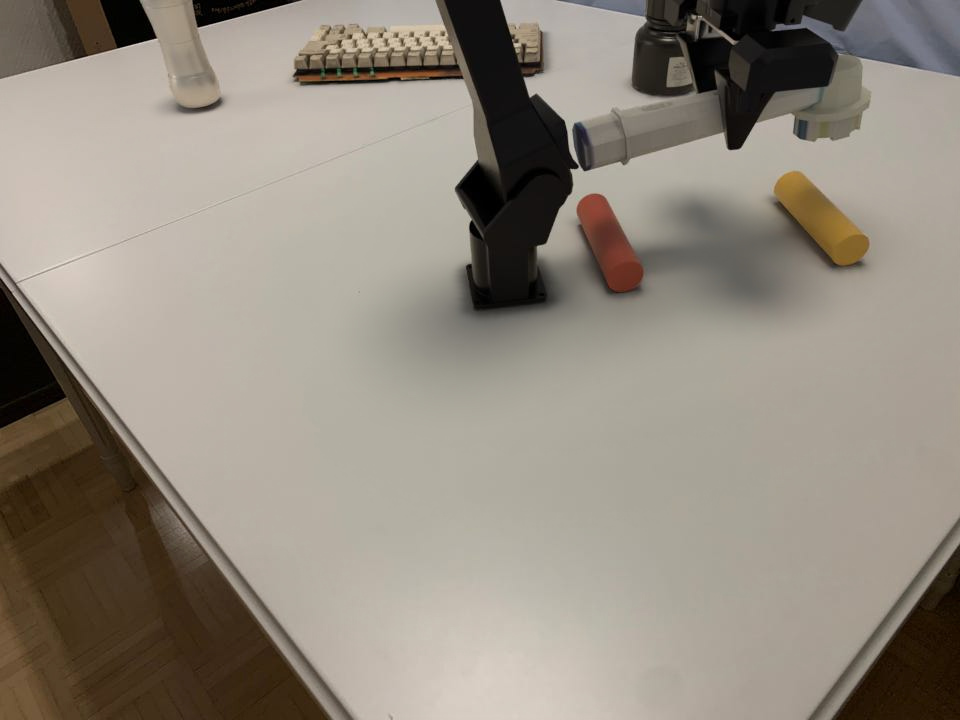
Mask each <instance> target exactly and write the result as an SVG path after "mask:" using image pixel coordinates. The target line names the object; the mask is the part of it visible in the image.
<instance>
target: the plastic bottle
mask: <svg viewBox="0 0 960 720" xmlns="http://www.w3.org/2000/svg"><path fill="white" fill-rule="evenodd" d="M139 2H140V4H141V6H142V8H143V10H144V12H145V14H146V16H147V19H148V20H149V23H150V24H151V26H152V29H153V32H154V34H155V37H156V38H157V42H158V44H159V47H160V49H161V53H162V56H163V61H164V65H165V68H166V72H167V80H168V85H169V89H170V92H171V94H172V96H173V98H174V99H175V101H176V103H178V104H179V105H180V106H182V107H184V108H187V109H198V108H203V107H207V106H210V105H213V104H215V103H216V102H218V100H219V98H220V95H221V88H220V82H219V79H218V77H217V74H216V72H215V70H214V68H213V67H212V66H211V63H210V60H209V58H208V55H207V53H206V50H205V47H204V45H203V43H202V40H201V36H200V33H199V28H198V24H197V20H196V16H195V15H196V14H195V10H194V9H195V8H194V4H193V0H139Z"/></svg>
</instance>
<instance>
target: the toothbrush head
mask: <svg viewBox="0 0 960 720" xmlns="http://www.w3.org/2000/svg"><path fill="white" fill-rule="evenodd" d="M838 55H839V58H838V61H837V65H836V69H835V72H834V76H833V80H832V83H831V84H830V85H829V86H828V87H818V88H809V89H799V90H790V91H781V92H775V94H774V95H773V96H772V98H771V99H770V101H769V102H768V104H767V105H766V107H765V108H764V110H763V111H762V113H761V115H760V117H759V118H758V120H757V122H756V123H755V124H759V123H762V122H765V121H769V120H772V119H776V118H779V117H783V116H786V115H789V114H791V115H792V116H793V117H794V121H793V129H792V130H793V131H792V134H793V135H794V136H795V137H796V138H798V139H799V140H803V141H808V142H813V143H816V141H817V140H818V139H829V140H831V141H832V142H835V141H839V140H841V139H846V138H849V137H850V136H851V133H852V132H854V131H856V130H859V131H860V130H861V125H862V121H863V120H862V118H863V113H864V112H865V111H867V110H868V109H869V108H870V104H871V98H872V90H870V89H868V88H866V87H865V86H864V85H863V69H864V67H863V63H862V61H861V59H860V58H859V57H858V56H856V55H851V54H838ZM719 134H724V131H723V124H722V117H721V111H720V104H719V97H718V91H717V90H714V91H709V92H704V93H700V94H696V93H695V94H691V95H686V96H682V97H677V98H672V99H667V100H662V101H658V102H653V103H649V104H648V103H647V104H644V105H639V106H634V107H630V108H625V109H621V110H620V109H619V107H618V106H614V107H612V108H611V110H610V112H609V113H605V114H602V115H598V116H595V117H591V118H588V119H584V120H580V121H576V122H574V123H573V126H572V128H571V135H572V141H573V148H574V151H575V155H576V159H577V162H578V165H579V167H580V168H581V169H582V171H583V173H584V172H588V171H592V170H595V169H599V168H602V167H606V166H610V165H613V164H616V163H620V164H621V165H622V166H626V165H628V164H629V162H630V160H631V159H634V158H638V157H641V156H645V155H649V154H652V153H656V152H660V151H663V150H667V149H670V148H674V147H677V146H680V145H684V144H688V143H691V142H695V141H698V140H701V139H704V138H709V137H712V136H716V135H719Z"/></svg>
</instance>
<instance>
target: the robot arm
mask: <svg viewBox="0 0 960 720" xmlns="http://www.w3.org/2000/svg"><path fill="white" fill-rule="evenodd" d="M434 1H435V3H436V6H437V9H438V12H439V15H440V17H441V20H442V23H443V24H444V26H445V28H446V31H447V34H448V37H449V39H450V42H451V45H452V48H453V50H454V53H455V56H456V59H457V61H458V64H459V67H460V70H461V72H462V75H463V76H462V78H463V80H464V83H465V86H466V89H467V92H468V94H469V97H470V100H471V103H472V109H473V114H472V115H473V117H472V118H473V138H474V139H473V140H474V145H475V151H476V157H477V160H476V161H475V162H474V163H473V165H472V166H471V167H470V168H469V169H468V171H467V172H466V173H465V174H464V176H463V177H462V178H461V179H460V181H459V182H458V183H457V184H456V186H455V187H454V192H455V194H456V197H457V198H458V200H459V202H460V204H461V206H462V208H463V209H464V210H465V211H466V213H467V215H468V216H469V217H470V219H471V220H470V221H469V224H468V233H469V247H470V259H471V263H468V264H466V265H465V273H466V278H467V283H468V289H469V294H470V299H471V300H470V301H471V305H472V308H473V309H474V310H485V309H495V308H503V307H510V306H511V307H512V306H520V305H527V304H529V305H530V304H533V303H534V304H535V303H544V302H546V301H547V300H548V292H547V289H546V286H545V283H544V280H543V276H542V274H541V270H540V268H539V264H538V247H540V246H544V245H546V244H547V243H548V242H549V241H548V240H549V237H550V235H551V232H552V230H553V227H554V225H555V223H556V219H557V217H558V214H559V211H560V209H561V208H562V207H563V206H564V205H565V203H566V202H567V199H568V197H569V196H570V195H572V194H573V189H574V177H573V173H572V170H578V169H579V168H580V165H579V163H577V162H576V160H574V158H573V155H572V153H571V151H570V145H569V143H570V142H569V131H568V128H567V124H566V121H565V120H564V119H563V117H562V116H561V115H560V114H559V113H557V111H555V109H554V108H552V107H551V105H549V104H548V103H547V102H546V101H545V99H543V98H542V96H540V95H539V93H534V94H533V95H532V96H530V94H529V91H528V88H527V84H526V80H525V77H524V74H522V70H521V67H520V64H519V60H518V57H517V54H516V50H515V47H514V44H513V41H512V37H511V34H510V31H509V27H508V24H509V23H508V21H507V17H506V15H505V11H504V7H503V4H502V1H501V0H434ZM863 1H864V0H666V3H665V12H664V18H665V19H666V20H667V21H668V22H669V23H670V24H671V25H673V26H680V25H681V24H682V22H683V20H684V19H685V16H686V15H687V16H688V22H687V30H686V31H681V32H678V33H677V40H678V41H679V42H680V45H681V48H682V51H683V54H684V57H685V61H686V64H687V67H688V70H689V73H690V76H691V80H692V83H693V86H694V88H693V89H694V92H695V94H700V93H704V92H709V91H714V90H717V91H718V97H719V104H720V111H721V117H722V124H723V131H724V132H723V136H724V141H725V146H726V149H727V150H728V151H738V150H740V149H742V148H743V146H744V145H745V142H746V140H748V137H749V136H750V134H751V132H752V131H753V129H754V127H755V125H756V124H757V123H756V122H757V120H758V118H759V117H760V115H761V113H762V111H763V110H764V108H765V107H766V105H767V104H768V102H769V101H770V99H771V98H772V96H773V95H774V94H775V92H781V91H790V90H799V89H809V88H818V87H828V86H829V85H830V84H831V83H832V80H833V76H834V72H835V69H836V65H837V61H838V58H839V55H840V54H839V53H838V51H836V49H835V47H833V45H832V44H831V42H830V41H828V40H827V39H825V38H823V37H821V36H820V35H818V34H817V33H816V32H814V31H812V30H811V29H809V28H807V27H802V28H801V27H800V28H789V29H779V30H776V29H777V25H784V26H796V25H801V24H802V22H803V17H806V18H810V19H813V20H815V21H819V22H821V23H824V24H827V25H830V26H831V27H832V30H836V31H839V32H845V31H846V30H847V28H848V27H849V25H850V24H851V21H852V20H853V18H854V16H855V15H856V12H857V11H858V9H859V7H860V6H861V5H862V3H863Z"/></svg>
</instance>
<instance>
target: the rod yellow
mask: <svg viewBox="0 0 960 720" xmlns="http://www.w3.org/2000/svg"><path fill="white" fill-rule="evenodd" d="M773 194H774V196H775V198H776V199H777V200H778V201H779V202H780V203H781V204H782V205H783V206H784V208H785V209H786V210H787V211H788V212H789V213H790V215H791V216H792V217H793V218H794V219H795V221H797V222H798V223H799V224H800V226H801V227H802V228H803V229H804V230H805V231H806V232H807V233H808V235H809V236H811V238H812V239H813V240H814V241H815V243H817V245H818V246H819V247H820V248H822V250H823V251H824V252H825V253H826V254H827V256H828V257H829V258H830V259H831V260H832V262H833V263H835V264H836V265H838V266H849V265H853V264H855V263H857V262H859V260H861V259H862V258H863V257H864V256H865V255H866V254H867V252H868V251H869V248H870V240H869V238H868V236H867V235H866V234H865V233H864V232H863V231H861V229H860V228H859V227H857V225H856V224H855V223H854V222H853V221H852V220H851V219H850V218H848V216H847V215H845V214H844V213H843V212H842V211H841V210H840V208H838V206H836V204H834V202H832V201H831V200H830V198H828V197H827V196H826V195H825V193H823V191H821V190H820V189H819V188H818V187H817V186H816V185H815V183H814V182H812V181H811V180H810V179H809V178H808V177H807V176H806V174H805V173H803V172H802V171H799V170H791V171H788V172H786V173H784V174H782V175H781V176H780V177H779V178H778V179H777V181H776V182H775V185H774V187H773Z"/></svg>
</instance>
